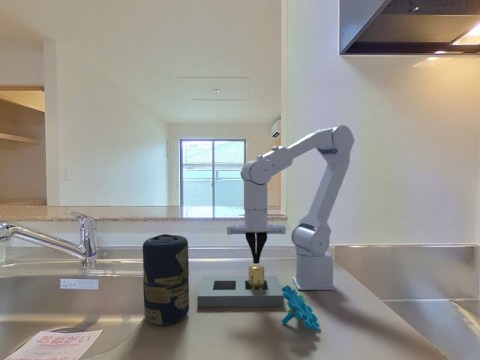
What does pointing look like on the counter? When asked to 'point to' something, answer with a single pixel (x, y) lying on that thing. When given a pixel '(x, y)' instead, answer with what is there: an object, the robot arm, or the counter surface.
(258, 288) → the bushing
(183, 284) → the canister
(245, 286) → the jig
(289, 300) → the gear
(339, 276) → the counter surface
